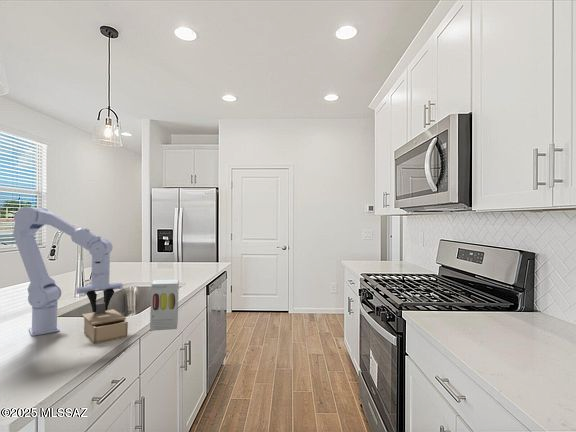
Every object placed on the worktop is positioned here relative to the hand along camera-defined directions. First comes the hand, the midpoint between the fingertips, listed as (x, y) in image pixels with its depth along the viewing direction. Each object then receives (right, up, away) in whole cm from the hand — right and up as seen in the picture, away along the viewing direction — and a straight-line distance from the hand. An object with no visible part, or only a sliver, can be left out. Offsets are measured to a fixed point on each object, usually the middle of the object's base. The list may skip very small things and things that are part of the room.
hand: (99, 311), depth 121 cm
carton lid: (+3, -1, -4) cm, 5 cm away
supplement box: (+22, -7, +4) cm, 23 cm away
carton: (+5, -7, -6) cm, 10 cm away
